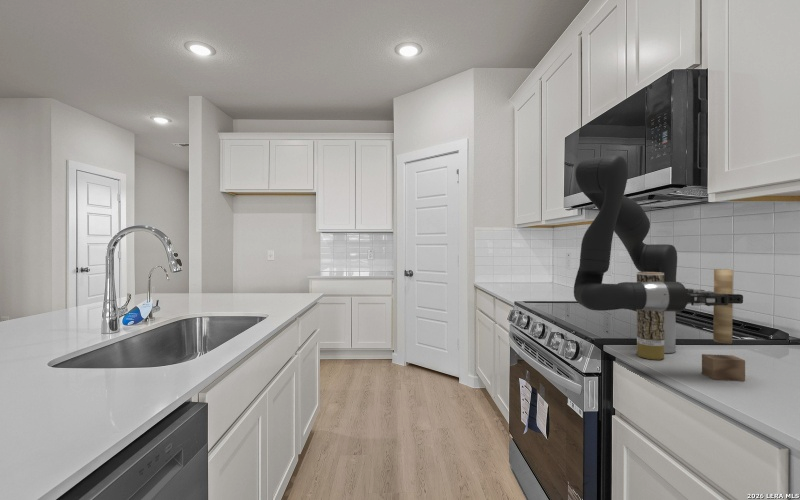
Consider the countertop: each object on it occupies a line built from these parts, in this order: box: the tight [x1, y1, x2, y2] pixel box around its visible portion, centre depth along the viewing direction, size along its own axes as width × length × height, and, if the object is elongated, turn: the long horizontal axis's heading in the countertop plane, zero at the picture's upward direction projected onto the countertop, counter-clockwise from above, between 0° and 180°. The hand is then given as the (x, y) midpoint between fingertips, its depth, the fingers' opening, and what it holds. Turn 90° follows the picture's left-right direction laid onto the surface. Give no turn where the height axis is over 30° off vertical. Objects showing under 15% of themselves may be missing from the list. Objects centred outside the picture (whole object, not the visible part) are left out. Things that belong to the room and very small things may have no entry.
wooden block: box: [701, 353, 746, 382], centre depth 95 cm, size 7×4×5 cm, turn 80°
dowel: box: [712, 268, 734, 344], centre depth 95 cm, size 4×4×18 cm
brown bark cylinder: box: [636, 271, 665, 361], centre depth 113 cm, size 7×7×25 cm
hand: (735, 297), depth 95 cm, fingers closed on dowel, 3 cm apart
